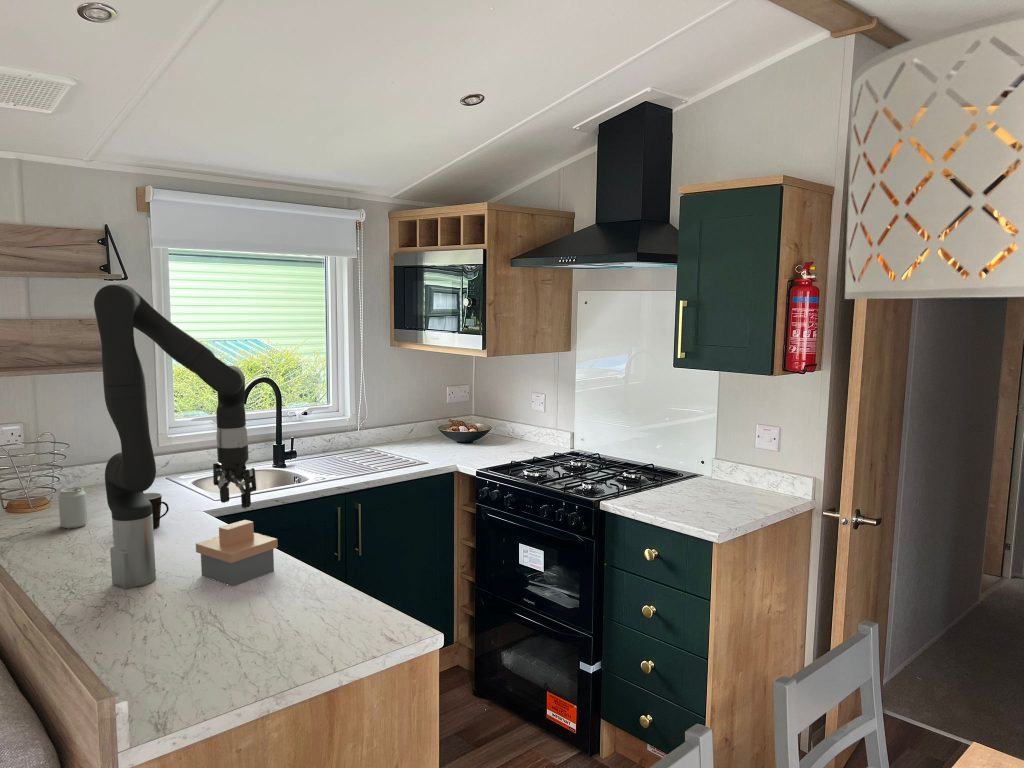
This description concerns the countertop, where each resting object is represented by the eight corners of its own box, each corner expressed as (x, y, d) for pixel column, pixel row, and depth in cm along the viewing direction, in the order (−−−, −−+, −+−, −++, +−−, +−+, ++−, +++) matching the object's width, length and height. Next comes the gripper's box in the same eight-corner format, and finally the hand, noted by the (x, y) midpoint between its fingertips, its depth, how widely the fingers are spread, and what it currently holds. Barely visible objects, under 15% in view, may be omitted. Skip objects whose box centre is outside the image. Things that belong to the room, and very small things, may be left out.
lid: (231, 563, 190) (230, 536, 189) (196, 552, 198) (194, 526, 197) (277, 547, 202) (276, 522, 201) (242, 537, 210) (241, 513, 209)
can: (91, 525, 240) (88, 488, 239) (65, 531, 235) (62, 493, 234) (83, 520, 246) (80, 484, 244) (57, 526, 240) (54, 488, 239)
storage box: (232, 586, 192) (231, 555, 191) (201, 575, 199) (200, 546, 198) (274, 571, 203) (273, 542, 202) (243, 561, 210) (242, 533, 209)
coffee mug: (128, 527, 239) (126, 496, 238) (156, 521, 245) (155, 491, 244) (143, 535, 231) (141, 503, 230) (172, 529, 237) (170, 498, 236)
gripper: (202, 443, 197) (206, 503, 199) (237, 449, 189) (241, 512, 192) (227, 438, 203) (230, 497, 206) (262, 444, 196) (265, 505, 198)
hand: (235, 504), depth 199 cm, fingers open, 8 cm apart
